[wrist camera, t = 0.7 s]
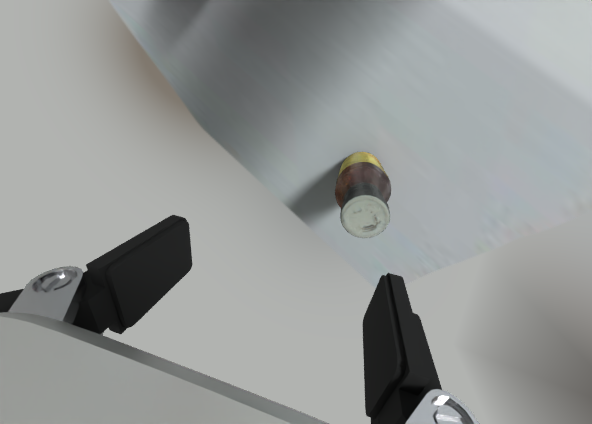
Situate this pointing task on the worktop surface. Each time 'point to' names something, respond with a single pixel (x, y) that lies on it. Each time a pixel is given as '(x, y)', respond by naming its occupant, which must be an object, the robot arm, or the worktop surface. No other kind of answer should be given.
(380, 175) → the sauce bottle
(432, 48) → the worktop surface
